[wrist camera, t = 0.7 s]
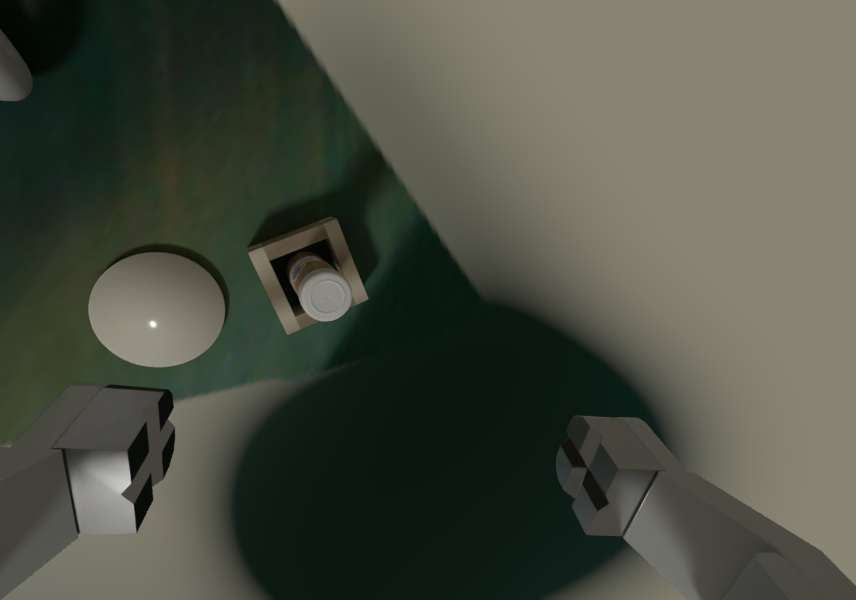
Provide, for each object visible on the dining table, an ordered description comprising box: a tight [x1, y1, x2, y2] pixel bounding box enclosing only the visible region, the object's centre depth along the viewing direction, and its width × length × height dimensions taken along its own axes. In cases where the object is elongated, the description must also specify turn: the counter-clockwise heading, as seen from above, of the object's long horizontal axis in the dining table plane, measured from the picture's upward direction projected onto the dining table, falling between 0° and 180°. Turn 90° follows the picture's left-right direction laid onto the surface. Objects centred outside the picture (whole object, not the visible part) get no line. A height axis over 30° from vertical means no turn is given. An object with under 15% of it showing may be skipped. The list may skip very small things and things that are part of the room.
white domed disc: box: [88, 252, 225, 367], centre depth 46 cm, size 12×12×1 cm
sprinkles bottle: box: [287, 252, 352, 321], centre depth 45 cm, size 5×4×14 cm
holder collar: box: [247, 217, 368, 335], centre depth 49 cm, size 10×10×4 cm
